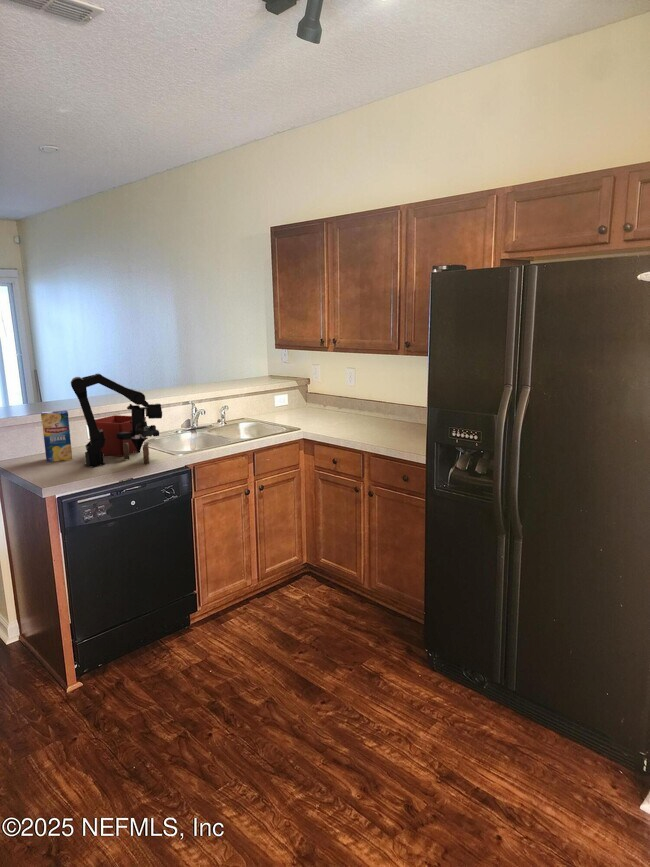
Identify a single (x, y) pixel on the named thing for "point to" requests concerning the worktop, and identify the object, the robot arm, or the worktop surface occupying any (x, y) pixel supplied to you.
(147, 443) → the panel
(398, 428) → the worktop surface
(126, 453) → the gate frame
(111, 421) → the plant pot
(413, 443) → the worktop surface
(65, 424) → the blue cardboard box
